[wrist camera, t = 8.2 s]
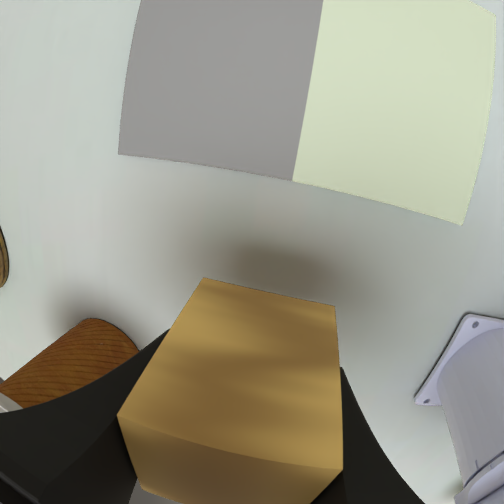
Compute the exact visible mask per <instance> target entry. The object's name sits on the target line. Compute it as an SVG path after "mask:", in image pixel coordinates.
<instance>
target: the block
mask: <svg viewBox="0 0 504 504" xmlns="http://www.w3.org/2000/svg"><path fill="white" fill-rule="evenodd" d="M117 417H118V421H119V424H120V428H121V431H122V434H123V437H124V441H125V444H126V447H127V450H128V453H129V456H130V458H131V461H132V464H133V467H134V470H135V472H136V475H137V478H138V480H139V483H140V485H141V488H142V490H145V491H148V492H150V493H153V494H156V495H159V496H161V497H165V498H167V499H170V500H174V501H177V502H180V503H183V504H310V503H311V502H312V501H313V500H314V499H315V498H316V497H317V496H318V495H319V494H320V493H321V492H322V491H323V490H324V489H325V488H326V487H327V486H328V485H329V484H330V483H331V482H332V481H333V479H334V478H335V477H336V476H337V475H338V474H339V473H340V472H341V471H342V470H343V431H342V401H341V381H340V364H339V350H338V338H337V326H336V315H335V306H331V305H326V304H321V303H317V302H312V301H307V300H302V299H297V298H293V297H288V296H283V295H279V294H274V293H270V292H265V291H260V290H256V289H251V288H247V287H243V286H238V285H234V284H229V283H225V282H221V281H217V280H212V279H208V278H204V277H203V279H202V280H201V282H200V283H199V285H198V286H197V288H196V289H195V291H194V293H193V294H192V296H191V297H190V299H189V300H188V302H187V303H186V305H185V306H184V308H183V310H182V311H181V313H180V314H179V316H178V317H177V319H176V321H175V322H174V324H173V325H172V327H171V328H170V330H169V332H168V333H167V335H166V336H165V338H164V339H163V341H162V343H161V344H160V346H159V347H158V349H157V351H156V352H155V354H154V355H153V357H152V359H151V360H150V362H149V363H148V365H147V367H146V368H145V370H144V371H143V373H142V375H141V376H140V378H139V379H138V381H137V383H136V384H135V386H134V388H133V389H132V391H131V393H130V394H129V396H128V397H127V399H126V401H125V402H124V404H123V406H122V407H121V409H120V411H119V412H118V414H117Z"/></svg>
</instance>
